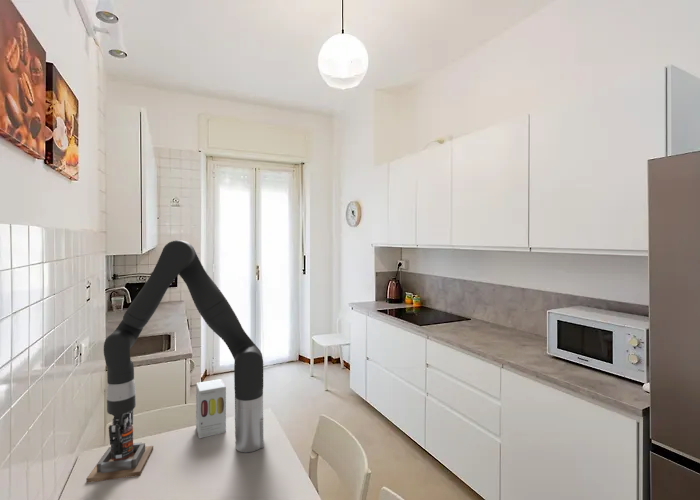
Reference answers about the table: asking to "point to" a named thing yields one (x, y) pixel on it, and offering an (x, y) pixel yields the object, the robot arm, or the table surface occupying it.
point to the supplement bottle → (125, 444)
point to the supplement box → (210, 408)
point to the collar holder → (121, 464)
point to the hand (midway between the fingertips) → (122, 448)
